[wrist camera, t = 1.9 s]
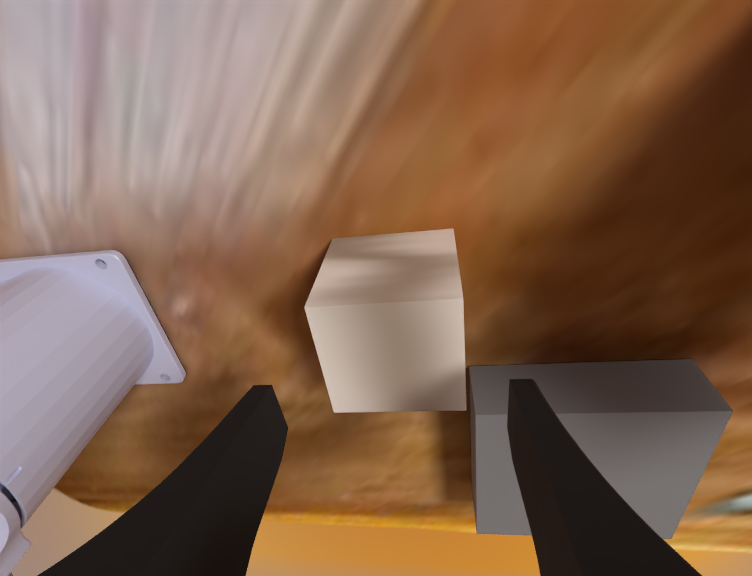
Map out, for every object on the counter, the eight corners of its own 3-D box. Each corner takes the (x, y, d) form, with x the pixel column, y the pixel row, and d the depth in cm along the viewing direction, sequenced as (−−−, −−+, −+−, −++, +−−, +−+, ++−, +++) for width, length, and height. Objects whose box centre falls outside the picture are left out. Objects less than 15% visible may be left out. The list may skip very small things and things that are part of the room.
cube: (352, 330, 20) (333, 412, 16) (332, 237, 17) (304, 307, 13) (457, 325, 19) (466, 410, 15) (453, 227, 17) (463, 298, 12)
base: (471, 483, 26) (476, 533, 23) (469, 366, 20) (475, 415, 18) (645, 485, 24) (671, 539, 22) (692, 358, 19) (733, 411, 16)
